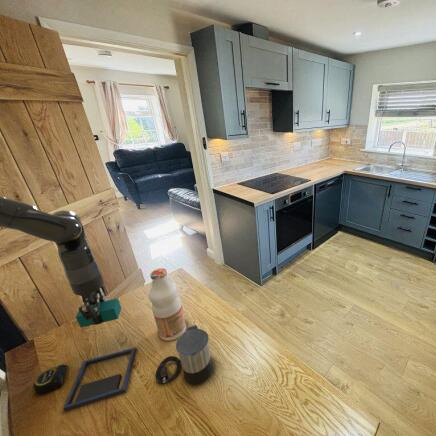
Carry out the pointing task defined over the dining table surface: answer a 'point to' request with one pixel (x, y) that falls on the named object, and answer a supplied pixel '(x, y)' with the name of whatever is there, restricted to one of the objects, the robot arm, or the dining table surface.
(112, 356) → the dark blue open frame
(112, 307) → the teal pad
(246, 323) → the dining table surface
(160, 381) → the milk frother
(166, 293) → the fruit juice
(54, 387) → the tape measure
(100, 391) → the black pad
